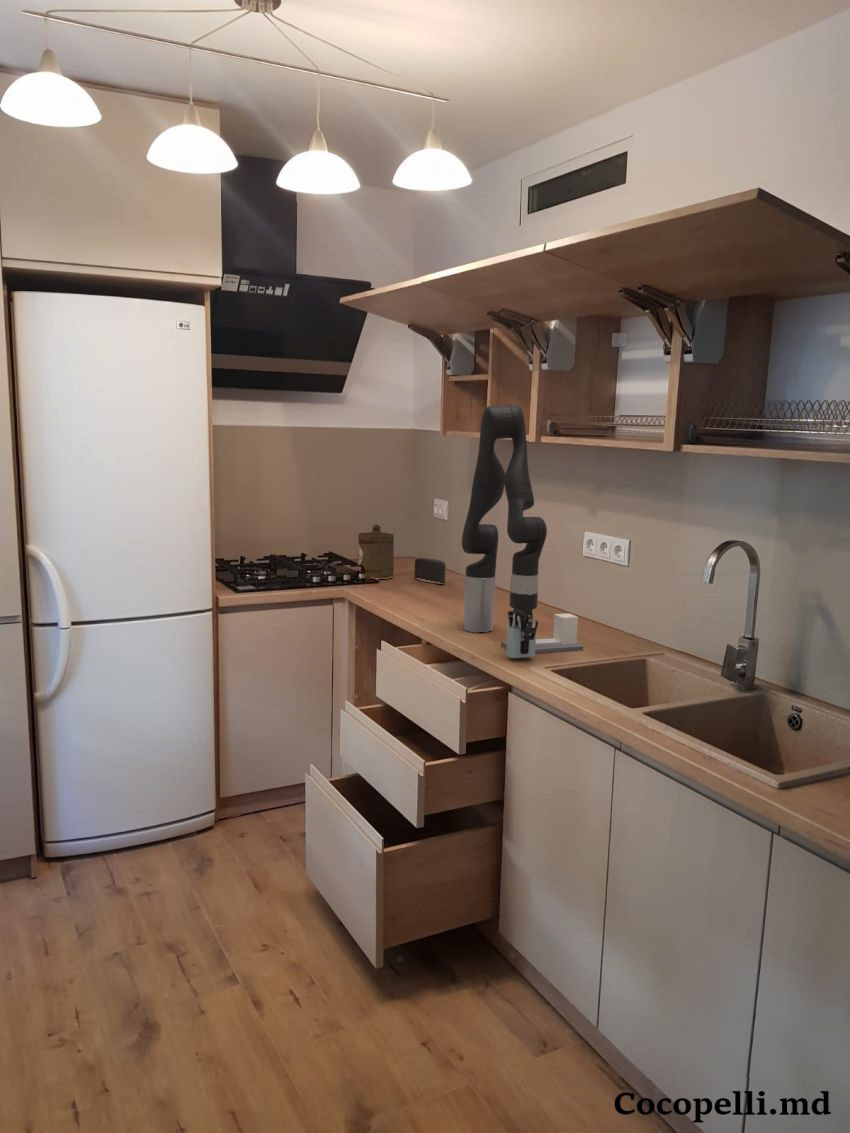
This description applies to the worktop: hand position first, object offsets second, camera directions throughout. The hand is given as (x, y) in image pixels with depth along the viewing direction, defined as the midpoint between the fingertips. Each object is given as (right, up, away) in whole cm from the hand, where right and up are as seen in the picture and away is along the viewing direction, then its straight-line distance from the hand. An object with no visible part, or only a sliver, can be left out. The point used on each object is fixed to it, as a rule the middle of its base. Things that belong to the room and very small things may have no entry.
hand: (520, 651), depth 232 cm
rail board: (+8, 0, +14) cm, 16 cm away
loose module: (0, -1, 0) cm, 1 cm away
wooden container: (-47, +18, +121) cm, 131 cm away
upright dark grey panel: (-25, +16, +112) cm, 116 cm away
